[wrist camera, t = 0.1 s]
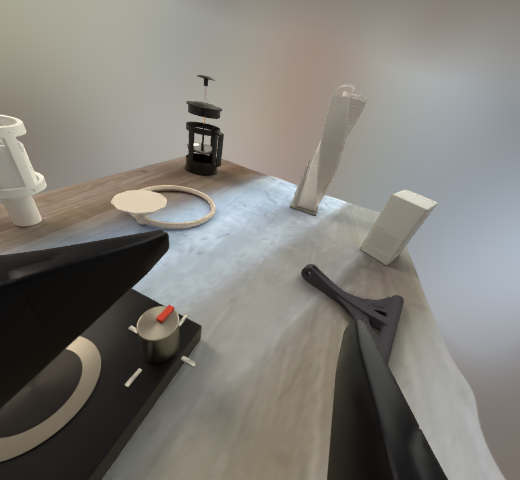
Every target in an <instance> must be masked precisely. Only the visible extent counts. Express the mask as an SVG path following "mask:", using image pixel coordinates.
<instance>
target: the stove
mask: <svg viewBox="0 0 520 480" xmlns="http://www.w3.org/2000/svg"><path fill="white" fill-rule="evenodd" d="M158 306H163V305H161V304H159V303H158V302H156V301H154V300H152V299H150V298H148V297H146V296H145V295H143V294H141V293H139V292H137V291H135V290H133V289H130V290H129V291H128V292H127V293H126V294H125V295H124V296H122V297H121V298H120V299H119V300H118V301H117V302H116V303H115V304H114V305H113V306H112V307H110V308H109V309H108V310H107V311H106V312H105V313H104V314H103V315H102V316H101V317H100V318H99V319H97V320H96V321H95V322H94V323H93V324H92V325H91V326H90V327H89V328H88V329H87V330H85V331H84V332H83V333H82V334H81V335H80V337H83V338H86V339H88V340H89V341H91V342H92V343H93V344H94V345H95V346H96V347H97V349H98V351H99V353H100V356H101V372H100V377H99V379H98V382H97V385H96V387H95V389H94V391H93V393H92V394H91V396H90V398H89V399H88V401H87V402H86V404H85V405H84V406H83V408H82V409H81V410H80V411H79V412H78V413H77V415H76V416H75V417H74V418H73V419H72V420H71V421H70V422H69V423H68V424H67V425H66V426H65V427H63V428H62V429H61V430H60V431H59V432H58V433H56V434H55V435H54V436H52V437H51V438H50V439H48V440H47V441H46V442H44V443H42V444H41V445H39V446H38V447H36V448H34V449H32V450H30V451H29V452H27V453H25V454H23V455H21V456H18V457H16V458H13V459H11V460H8V461H5V462H1V463H0V480H101V479H102V478H103V476H104V475H105V473H106V472H107V471H108V469H109V468H110V466H111V465H112V464H113V462H114V461H115V459H116V458H117V456H118V455H119V454H120V452H121V451H122V449H123V448H124V447H125V445H126V444H127V442H128V441H129V439H130V438H131V437H132V435H133V434H134V432H135V431H136V430H137V428H138V427H139V425H140V424H141V422H142V421H143V420H144V418H145V417H146V415H147V414H148V412H149V411H150V410H151V408H152V407H153V405H154V404H155V403H156V401H157V400H158V398H159V397H160V395H161V394H162V393H163V391H164V390H165V388H166V387H167V386H168V384H169V383H170V381H171V380H172V378H173V377H174V376H175V374H176V373H177V371H178V370H179V369H180V367H181V366H182V364H183V363H184V362H185V363H187V364H189V365H190V366H192V367H194V366H195V365H196V363H195V362H194V361H192V360H190V359H188V358H187V357H188V356H189V354H190V353H191V352H192V350H193V349H194V347H195V346H196V344H197V343H198V342H199V340H200V338H201V327H202V326H201V325H199V324H197V323H195V322H193V321H191V320H189V319H188V315H186V314H185V316H182V315H180V314H178V315H179V328H180V345H179V348H178V350H177V352H176V354H175V355H174V356H173V357H172V358H170V359H169V360H167V361H165V362H163V363H157V364H155V363H150V362H148V361H146V360H145V359H144V357H143V356H142V352H141V348H140V343H139V339H138V334H137V329H136V327H137V322H138V320H139V318H140V317H141V316H142V315H143V314H144V313H145V312H146V311H148V310H149V309H151V308H154V307H158Z"/></svg>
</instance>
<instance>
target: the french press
mask: <svg viewBox="0 0 520 480" xmlns="http://www.w3.org/2000/svg"><path fill="white" fill-rule="evenodd" d="M198 77H202V78H204V86H205V96H204V98H205V99H204V103H203V102H197V101H196V102H192V101H187V104H188V112H189V113H191V114H194V115H198V116H201V117H203V123H200V122H187V123H186V129H187V130H189V144H187V146H188V149H189V154H188V155H186V165H185V169H186V170H187V171H189V172H191V173H194V174H198V175H214V174H216V173H217V167H219V166H220V165H221V156H222V146H223V136H224V134H223V133H221V132H220V128H218V127H215V126H213V125H210V124H205V117H206V118H213V119H218V118H220V111H222V109H221V108H219V107H216V106H214V105H211V104H208V103H206V87H207V86H208V79H210V80H214V79H213V78H211V77H208V76H203V75H198ZM214 81H215V80H214ZM196 127H199V128H196ZM200 128H203V129H200ZM204 128H205V129H209V130H204ZM194 133H197V134H201V135H203V137H202V143H194ZM204 135H207V136H211V145H206V144H204ZM218 136H219V137H218ZM217 140H218V149H217ZM194 152H197V153H194ZM216 152H217V159H216ZM198 153H202V154H198ZM205 154H210V156H209V155H205Z"/></svg>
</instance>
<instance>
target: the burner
mask: <svg viewBox="0 0 520 480" xmlns="http://www.w3.org/2000/svg"><path fill="white" fill-rule="evenodd" d="M100 372H101V356H100V353H99V351H98V349H97V347H96V346H95V345H94V344H93V343H92V342H91V341H89V340H88V339H86V338H83V337H80V336H79V337H78V338H77V339H76V340H75V341H73V342H72V343H71V344H70V345H69V346H68V347H67V348H66V349H65V350H64V351H63V352H61V354H60V355H58V356H57V357H56V358H55V359H54V360H53V361H52V362H51V363H50V364H49V365H48V366H46V367H45V368H44V369H43V370H42V371H41V372H40V373H39V374H38V375H37V376H36V377H35V378H33V379H32V380H31V381H30V382H29V383H28V384H27V385H26V386H25V387H24V388H23V389H21V390H20V391H19V392H18V393H17V394H16V395H15V396H14V397H13V398H12V399H11V400H10V401H8V402H7V403H6V404H5V405H4V406H3V407H2V408H1V409H0V463H1V462H5V461H8V460H11V459H13V458H16V457H18V456H21V455H23V454H25V453H27V452H29V451H30V450H32V449H34V448H36V447H38V446H39V445H41V444H42V443H44V442H46V441H47V440H48V439H50V438H51V437H52V436H54V435H55V434H56V433H58V432H59V431H60V430H61V429H62V428H63V427H65V426H66V425H67V424H68V423H69V422H70V421H71V420H72V419H73V418H74V417H75V416H76V415H77V413H78V412H79V411H80V410H81V409H82V408H83V406H84V405H85V404H86V402H87V401H88V399H89V398H90V396H91V394H92V393H93V391H94V389H95V387H96V385H97V382H98V379H99V377H100Z"/></svg>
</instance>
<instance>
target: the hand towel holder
mask: <svg viewBox="0 0 520 480" xmlns="http://www.w3.org/2000/svg"><path fill="white" fill-rule="evenodd" d="M161 190H174V191H183V192H188V193H191V194H194V195H197V196H199V197H201V198H203V199H205V200H206V201H207V202H209V203H210V205H211V211H210V213H209V214H208V215H207V216H205V217H203V218H201V219H199V220H195V221H191V222H182V223H168V222H161V221H155V220H151V219H149V218H148V216H147V214H152V213H155V212H157V211H159V210H161V209H163V208H164V207H165V206H166V202H167V199H166V198H165V197H164V196H162V195H161V194H160V193H156V192H153V191H161ZM111 203H112V204H113V205H114V206H115V207H116V208H117V209H118V210H120V211H122V212H126V213H130V214H131V215H132V216H133V217H134V218H135V219H136V221H137V222H138V223H139V224H140V225H146V224H148V225H150V226H154V227H160V228H165V229H182V228H191V227H195V226H198V225H201V224H203V223H205V222H207V221H208V220H209V219H210V218H211V217H213V215H214V214H215V211H216V208H215V204H214V202H213V201H212V199H211V198H210V197H208V196H207V195H206V194H204V193H202V192H200V191H197V190H194V189H191V188H187V187H182V186H173V185H160V186H151V187H147V188H143V189H141V190H129V191H126V192H123V193H120V194H117V195H115V196H114V198H113V199H112V201H111Z"/></svg>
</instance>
